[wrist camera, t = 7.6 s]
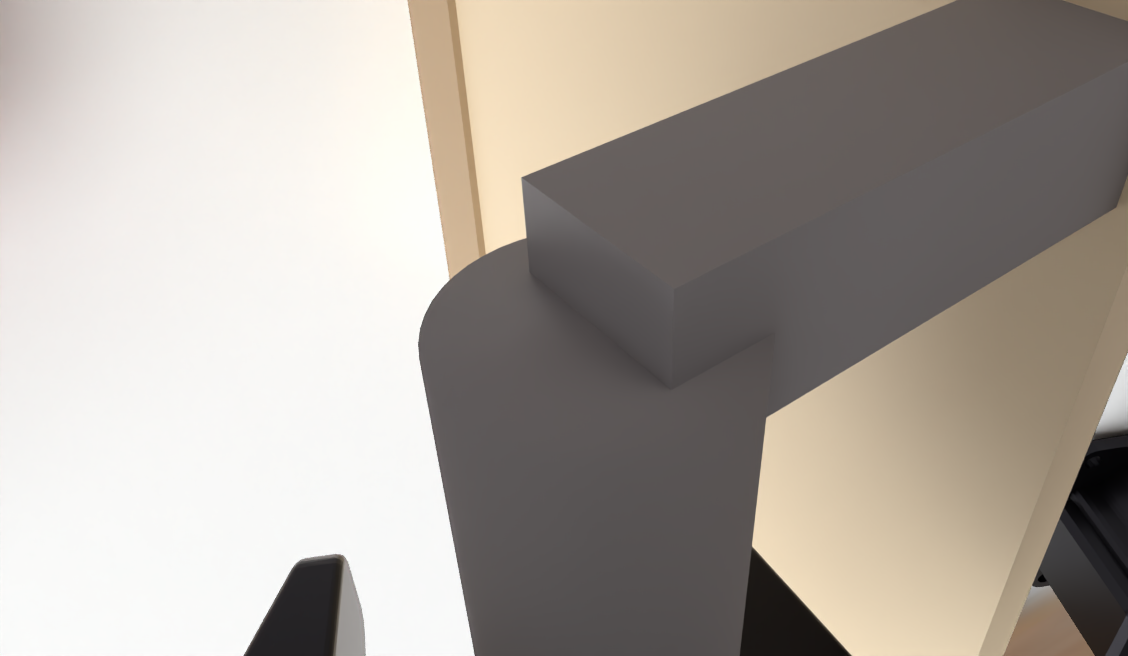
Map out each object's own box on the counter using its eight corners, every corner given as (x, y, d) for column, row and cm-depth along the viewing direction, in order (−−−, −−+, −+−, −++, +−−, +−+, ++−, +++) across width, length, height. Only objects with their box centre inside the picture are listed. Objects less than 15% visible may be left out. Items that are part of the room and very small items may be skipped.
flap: (1373, -196, 5) (517, 131, 3) (946, 816, 13) (604, 1133, 10) (411, -339, 12) (-76, -271, 10) (498, 375, 19) (232, 508, 17)
